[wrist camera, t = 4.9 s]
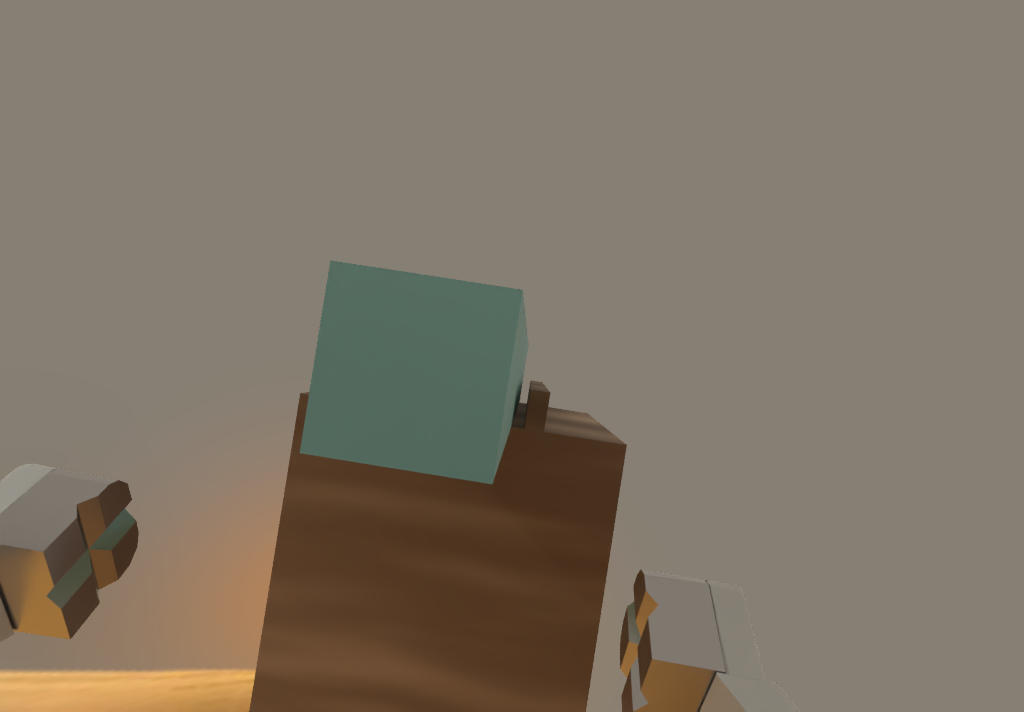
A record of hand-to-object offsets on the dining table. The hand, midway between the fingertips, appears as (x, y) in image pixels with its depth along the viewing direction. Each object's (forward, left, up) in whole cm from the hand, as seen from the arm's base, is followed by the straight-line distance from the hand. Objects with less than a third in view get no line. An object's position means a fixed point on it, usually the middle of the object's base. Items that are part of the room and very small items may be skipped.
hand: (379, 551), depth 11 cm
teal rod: (-8, +8, +1) cm, 12 cm away
